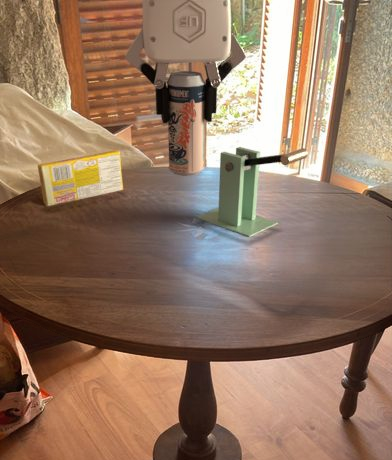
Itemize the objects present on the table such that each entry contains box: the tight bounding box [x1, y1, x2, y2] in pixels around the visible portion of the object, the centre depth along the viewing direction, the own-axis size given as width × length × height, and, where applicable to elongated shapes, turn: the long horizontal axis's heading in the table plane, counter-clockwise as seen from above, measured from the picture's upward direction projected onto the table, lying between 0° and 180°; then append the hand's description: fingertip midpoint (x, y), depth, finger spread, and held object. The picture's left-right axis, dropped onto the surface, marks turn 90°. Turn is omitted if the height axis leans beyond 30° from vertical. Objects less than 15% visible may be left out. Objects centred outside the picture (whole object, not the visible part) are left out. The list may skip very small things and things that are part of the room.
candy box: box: [37, 149, 124, 211], centre depth 107 cm, size 16×2×8 cm, turn 126°
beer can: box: [166, 70, 206, 177], centre depth 73 cm, size 5×5×12 cm
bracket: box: [196, 146, 279, 238], centre depth 97 cm, size 12×8×13 cm, turn 47°
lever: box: [239, 147, 309, 171], centre depth 91 cm, size 13×5×2 cm, turn 47°
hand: (186, 118), depth 73 cm, fingers closed on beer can, 4 cm apart
